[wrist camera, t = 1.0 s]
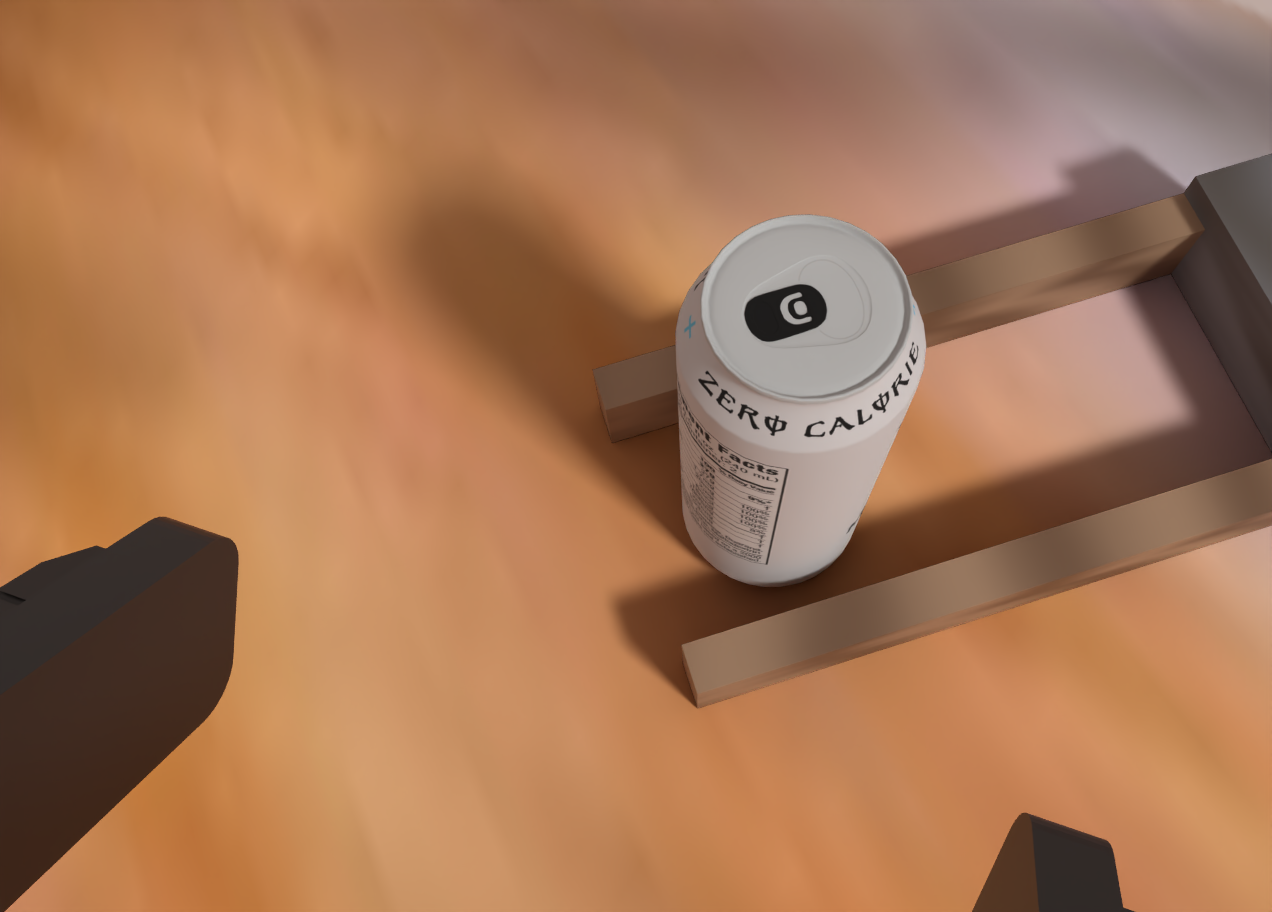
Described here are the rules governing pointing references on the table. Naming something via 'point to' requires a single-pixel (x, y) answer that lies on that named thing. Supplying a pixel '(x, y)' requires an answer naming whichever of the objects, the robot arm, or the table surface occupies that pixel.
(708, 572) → the table surface
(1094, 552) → the channel
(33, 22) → the table surface
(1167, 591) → the table surface
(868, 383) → the energy drink can
